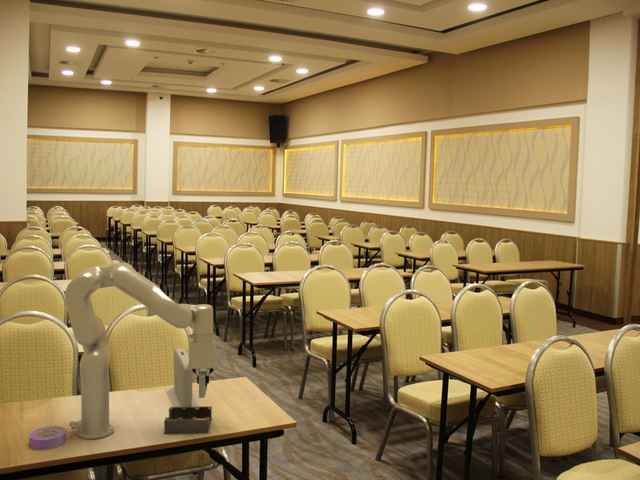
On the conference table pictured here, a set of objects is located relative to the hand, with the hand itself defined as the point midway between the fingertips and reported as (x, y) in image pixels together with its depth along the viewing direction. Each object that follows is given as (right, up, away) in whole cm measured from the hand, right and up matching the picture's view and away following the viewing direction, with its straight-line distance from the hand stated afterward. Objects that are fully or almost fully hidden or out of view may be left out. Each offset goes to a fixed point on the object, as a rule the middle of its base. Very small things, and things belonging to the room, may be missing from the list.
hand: (203, 385), depth 228 cm
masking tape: (-51, -17, -17) cm, 56 cm away
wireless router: (-14, -14, +29) cm, 35 cm away
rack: (-6, -16, +1) cm, 17 cm away
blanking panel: (0, -3, 0) cm, 3 cm away
